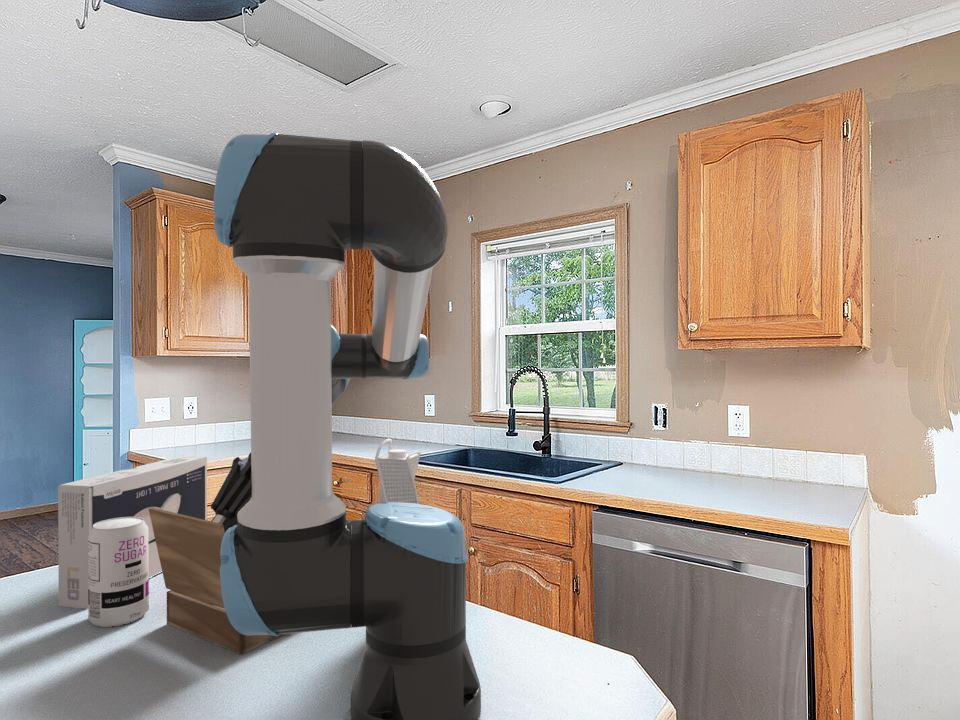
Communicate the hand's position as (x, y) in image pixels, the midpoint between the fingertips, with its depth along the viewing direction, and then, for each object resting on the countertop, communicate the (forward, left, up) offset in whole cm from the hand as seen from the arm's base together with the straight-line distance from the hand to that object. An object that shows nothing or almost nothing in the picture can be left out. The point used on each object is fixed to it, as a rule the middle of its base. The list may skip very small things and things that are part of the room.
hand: (198, 558), depth 89 cm
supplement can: (+12, +12, -12) cm, 21 cm away
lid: (-1, 0, -6) cm, 6 cm away
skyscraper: (-6, -28, -12) cm, 31 cm away
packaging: (+32, +11, -12) cm, 36 cm away
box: (+3, -6, -12) cm, 14 cm away
